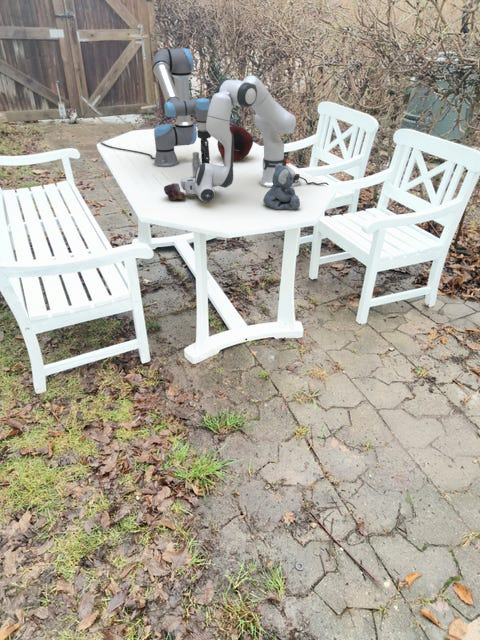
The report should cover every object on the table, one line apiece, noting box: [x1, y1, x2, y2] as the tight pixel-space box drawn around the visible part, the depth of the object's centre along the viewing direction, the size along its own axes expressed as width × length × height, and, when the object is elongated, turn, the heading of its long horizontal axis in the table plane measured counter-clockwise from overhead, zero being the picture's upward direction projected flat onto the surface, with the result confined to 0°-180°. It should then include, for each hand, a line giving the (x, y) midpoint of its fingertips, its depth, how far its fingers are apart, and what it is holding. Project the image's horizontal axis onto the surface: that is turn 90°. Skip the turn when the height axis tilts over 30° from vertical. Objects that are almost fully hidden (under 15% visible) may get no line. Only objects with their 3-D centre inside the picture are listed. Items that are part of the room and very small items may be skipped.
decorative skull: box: [217, 125, 254, 164], centre depth 298 cm, size 21×24×25 cm
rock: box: [163, 182, 187, 201], centre depth 236 cm, size 12×9×10 cm
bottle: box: [191, 151, 202, 178], centre depth 244 cm, size 5×5×20 cm
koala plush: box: [262, 164, 301, 211], centre depth 224 cm, size 17×18×20 cm
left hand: (205, 168), depth 260 cm, fingers open, 13 cm apart
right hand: (196, 178), depth 247 cm, fingers closed on bottle, 5 cm apart
